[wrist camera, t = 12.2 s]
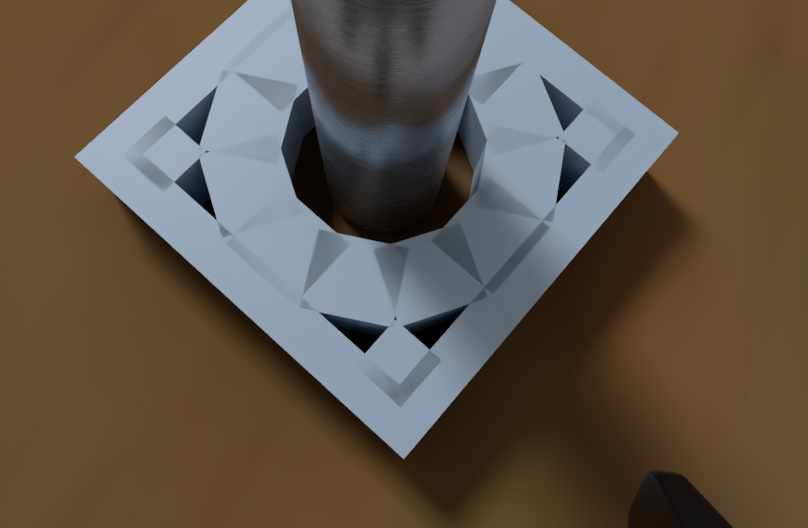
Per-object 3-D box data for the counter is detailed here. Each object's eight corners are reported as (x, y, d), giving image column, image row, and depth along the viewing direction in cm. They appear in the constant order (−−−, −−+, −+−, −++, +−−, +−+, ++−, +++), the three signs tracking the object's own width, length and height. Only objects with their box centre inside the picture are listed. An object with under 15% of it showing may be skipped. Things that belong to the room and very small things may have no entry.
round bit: (460, 203, 20) (589, -110, 8) (357, 252, 20) (334, -6, 8) (408, 109, 21) (458, -310, 9) (308, 154, 20) (214, -227, 8)
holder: (643, 166, 21) (678, 132, 18) (399, 453, 18) (404, 459, 16) (370, -52, 22) (369, -110, 20) (111, 188, 20) (74, 157, 17)
